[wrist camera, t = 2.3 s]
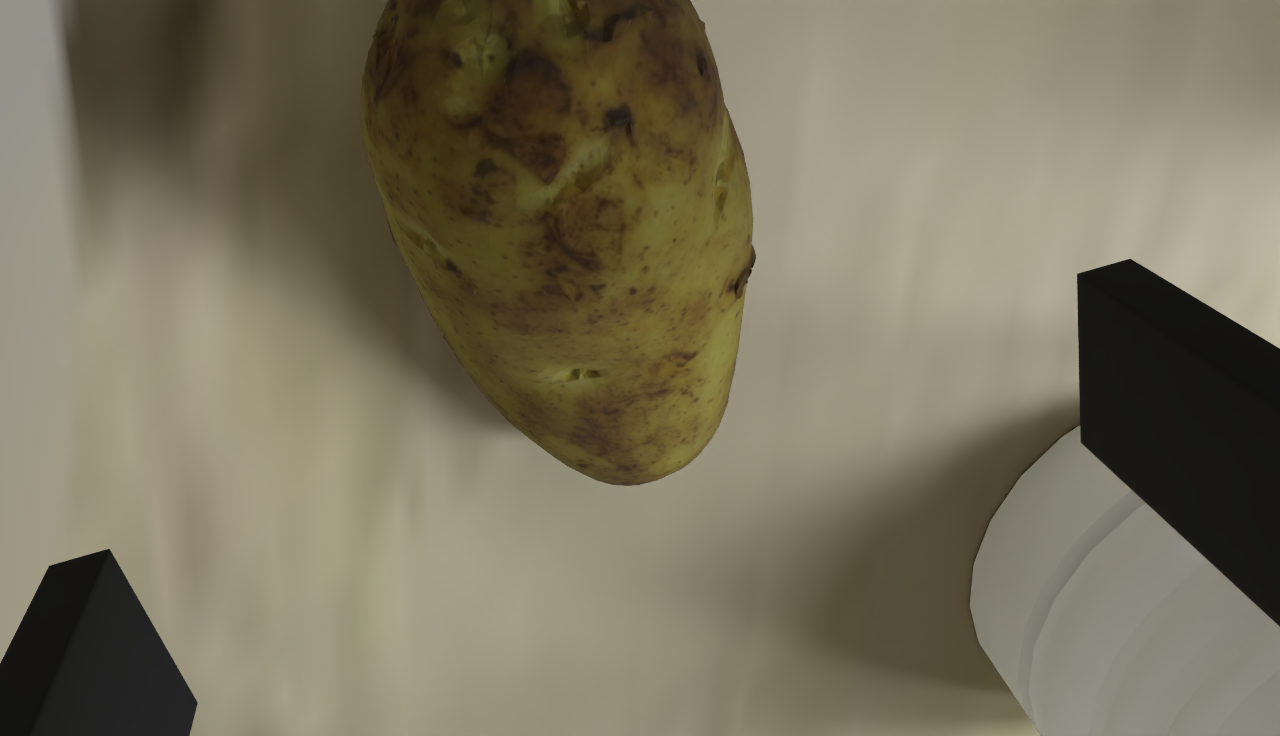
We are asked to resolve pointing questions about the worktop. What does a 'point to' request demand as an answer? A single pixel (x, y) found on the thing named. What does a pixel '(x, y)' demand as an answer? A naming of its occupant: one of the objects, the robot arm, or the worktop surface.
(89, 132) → the worktop surface
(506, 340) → the potato
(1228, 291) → the worktop surface
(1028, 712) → the honey pot
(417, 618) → the worktop surface
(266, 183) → the worktop surface
